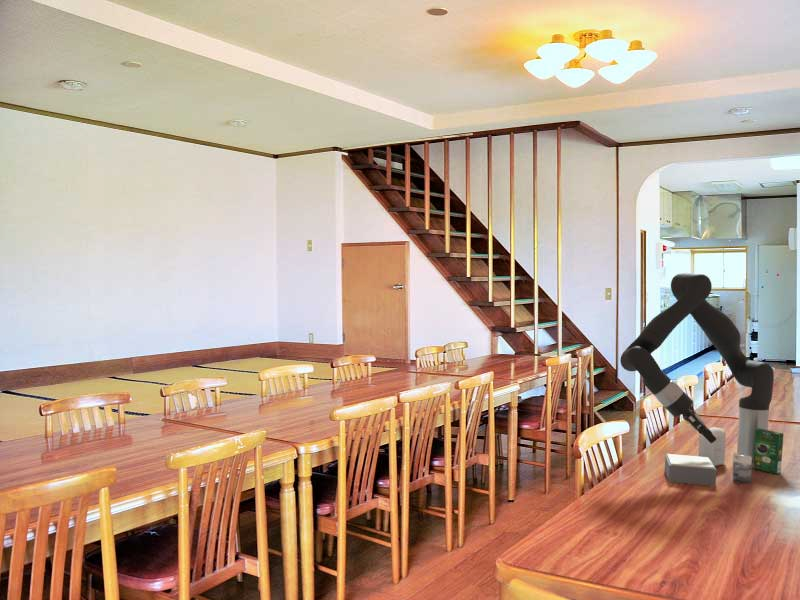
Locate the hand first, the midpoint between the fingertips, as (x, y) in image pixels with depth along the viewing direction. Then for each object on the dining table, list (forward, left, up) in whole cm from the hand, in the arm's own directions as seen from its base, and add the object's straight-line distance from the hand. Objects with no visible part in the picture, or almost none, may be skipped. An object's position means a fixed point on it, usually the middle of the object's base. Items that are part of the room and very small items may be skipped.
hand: (711, 438), depth 214 cm
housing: (0, +9, -12) cm, 15 cm away
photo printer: (-17, +3, -13) cm, 21 cm away
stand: (+2, -6, -12) cm, 14 cm away
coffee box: (-15, +19, -13) cm, 27 cm away
